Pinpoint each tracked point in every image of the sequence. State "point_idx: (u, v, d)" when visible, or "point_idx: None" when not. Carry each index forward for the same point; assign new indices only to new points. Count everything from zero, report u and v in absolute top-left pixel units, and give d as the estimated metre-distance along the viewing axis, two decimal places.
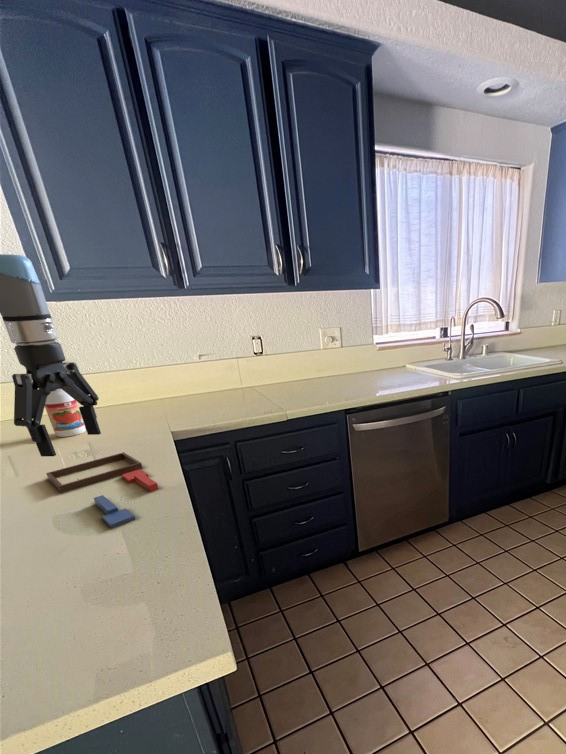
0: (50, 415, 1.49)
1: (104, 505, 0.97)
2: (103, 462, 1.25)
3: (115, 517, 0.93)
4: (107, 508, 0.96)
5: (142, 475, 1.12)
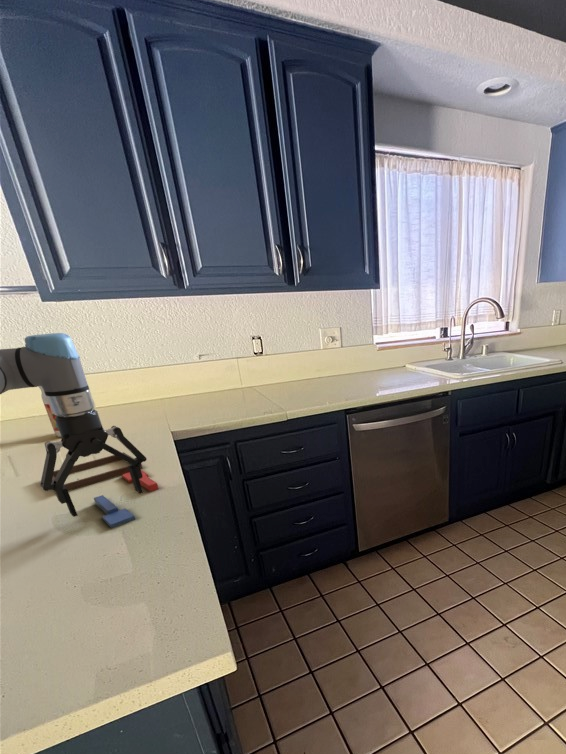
0: (50, 415, 1.49)
1: (104, 505, 0.97)
2: (103, 462, 1.25)
3: (115, 517, 0.93)
4: (107, 508, 0.96)
5: (142, 475, 1.12)
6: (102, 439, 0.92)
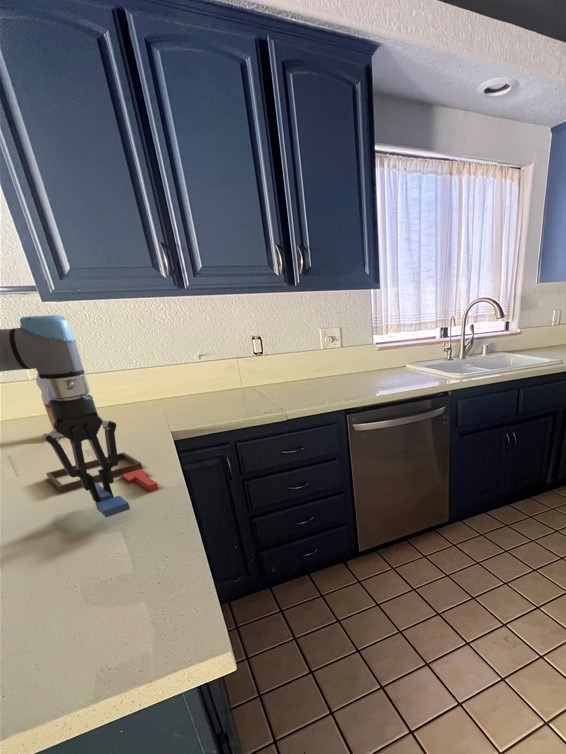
0: (50, 415, 1.49)
1: (98, 492, 0.95)
2: None
3: (109, 504, 0.92)
4: (101, 495, 0.94)
5: (142, 475, 1.12)
6: (96, 425, 0.91)
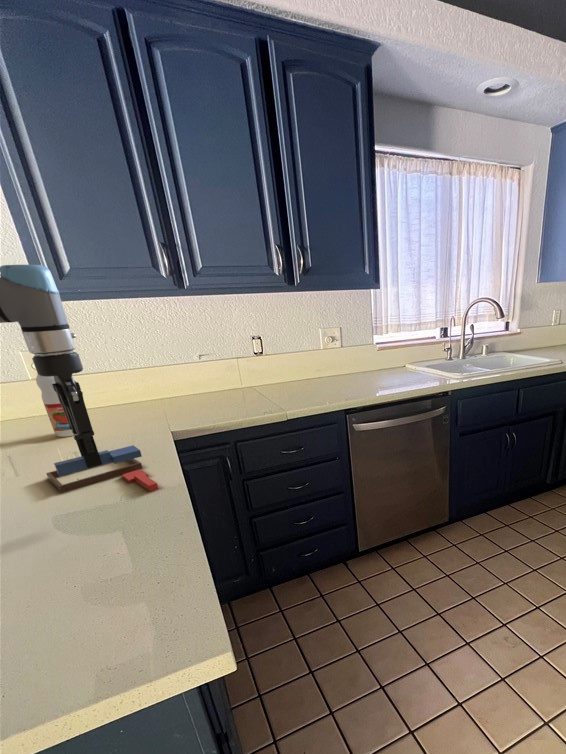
0: (50, 415, 1.49)
1: None
2: None
3: (125, 451, 0.96)
4: (102, 453, 0.93)
5: (142, 475, 1.12)
6: None
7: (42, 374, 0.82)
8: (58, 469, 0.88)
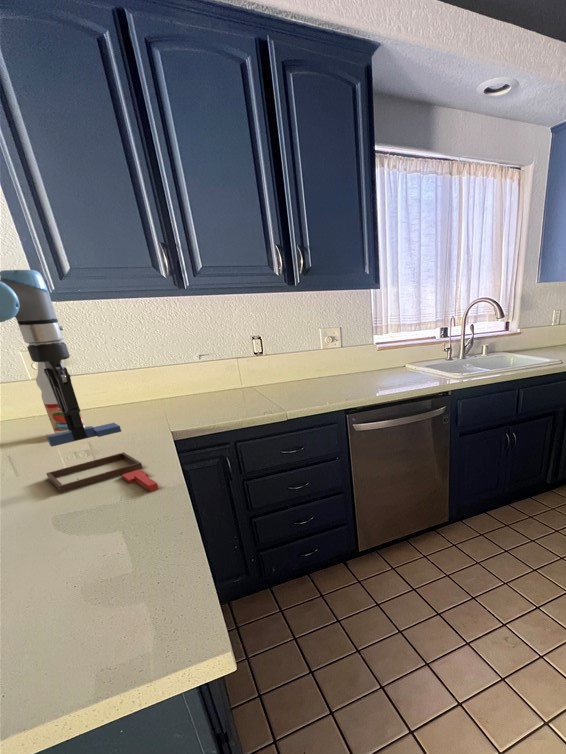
0: (50, 415, 1.49)
1: None
2: (103, 462, 1.25)
3: (106, 427, 1.14)
4: (87, 428, 1.11)
5: (142, 475, 1.12)
6: None
7: (36, 360, 0.99)
8: (50, 441, 1.05)
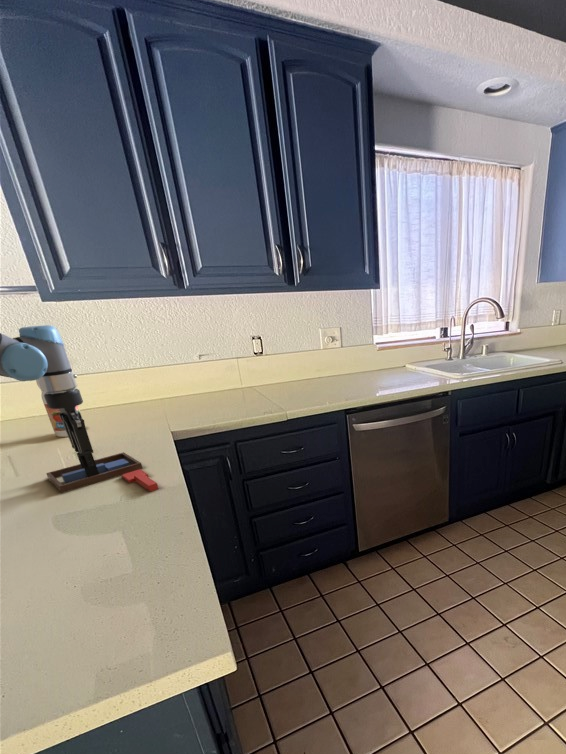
0: (50, 415, 1.49)
1: None
2: (103, 462, 1.25)
3: (117, 463, 1.21)
4: (99, 465, 1.18)
5: (142, 475, 1.12)
6: None
7: (52, 407, 1.06)
8: (65, 479, 1.13)
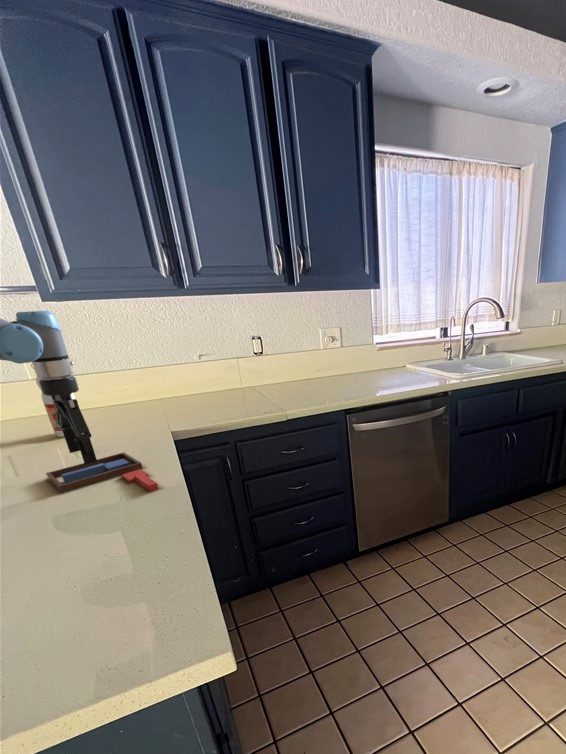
0: (50, 415, 1.49)
1: (90, 468, 1.17)
2: (103, 462, 1.25)
3: (117, 463, 1.21)
4: (99, 465, 1.18)
5: (142, 475, 1.12)
6: None
7: (47, 394, 1.05)
8: (65, 479, 1.13)
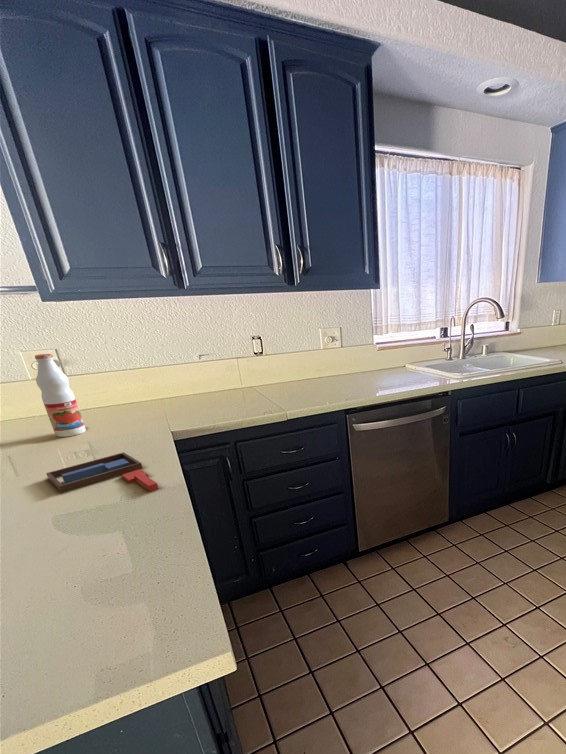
0: (50, 415, 1.49)
1: (90, 468, 1.17)
2: (103, 462, 1.25)
3: (117, 463, 1.21)
4: (99, 465, 1.18)
5: (142, 475, 1.12)
6: None
7: None
8: (65, 479, 1.13)
